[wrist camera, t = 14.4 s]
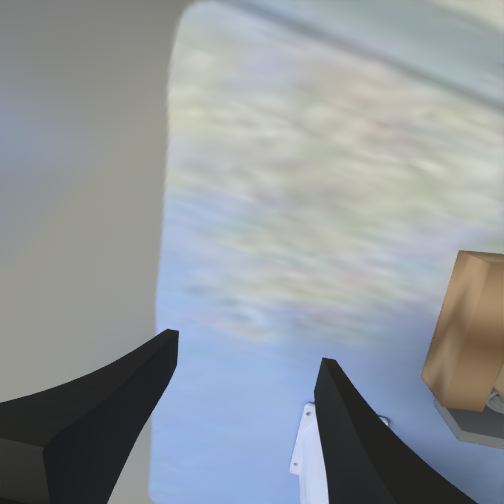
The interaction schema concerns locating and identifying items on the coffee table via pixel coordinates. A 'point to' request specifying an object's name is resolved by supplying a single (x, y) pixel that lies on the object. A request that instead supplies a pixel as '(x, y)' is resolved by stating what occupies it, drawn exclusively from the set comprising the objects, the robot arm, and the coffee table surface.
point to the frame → (475, 425)
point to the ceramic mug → (497, 402)
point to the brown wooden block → (468, 333)
